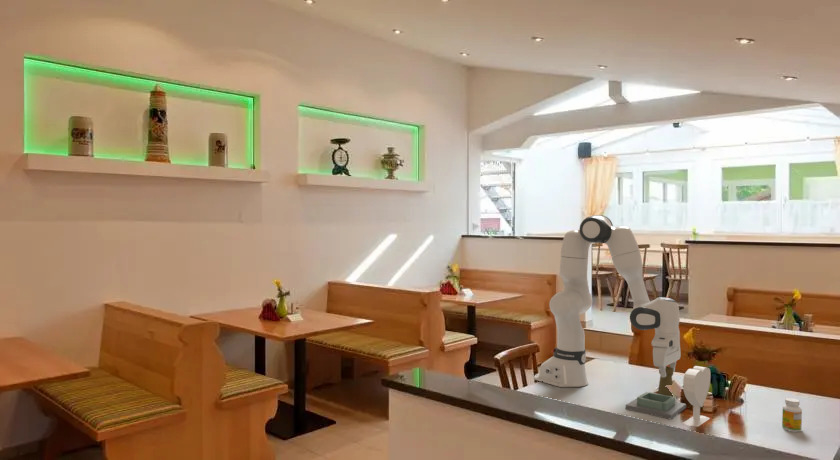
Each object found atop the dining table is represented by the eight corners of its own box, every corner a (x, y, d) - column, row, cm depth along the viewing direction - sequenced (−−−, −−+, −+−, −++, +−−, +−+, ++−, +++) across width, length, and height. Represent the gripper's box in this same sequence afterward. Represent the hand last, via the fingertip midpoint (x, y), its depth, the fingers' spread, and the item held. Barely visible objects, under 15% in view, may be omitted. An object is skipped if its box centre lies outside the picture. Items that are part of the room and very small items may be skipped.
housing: (625, 409, 216) (625, 398, 216) (642, 398, 228) (642, 388, 228) (670, 419, 206) (671, 407, 206) (686, 407, 218) (686, 397, 218)
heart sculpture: (697, 413, 212) (698, 363, 211) (712, 417, 208) (713, 365, 208) (680, 424, 201) (681, 371, 200) (695, 428, 197) (696, 374, 197)
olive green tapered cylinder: (675, 397, 230) (676, 369, 230) (659, 396, 231) (659, 368, 231) (672, 393, 236) (672, 365, 235) (656, 392, 237) (656, 364, 237)
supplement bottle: (778, 426, 199) (778, 397, 199) (793, 426, 200) (794, 397, 199) (789, 432, 194) (790, 402, 194) (805, 431, 194) (805, 402, 194)
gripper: (668, 334, 243) (668, 368, 243) (649, 342, 227) (650, 378, 227) (684, 336, 238) (685, 370, 238) (666, 344, 223) (666, 381, 223)
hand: (667, 374), depth 233 cm, fingers open, 8 cm apart
